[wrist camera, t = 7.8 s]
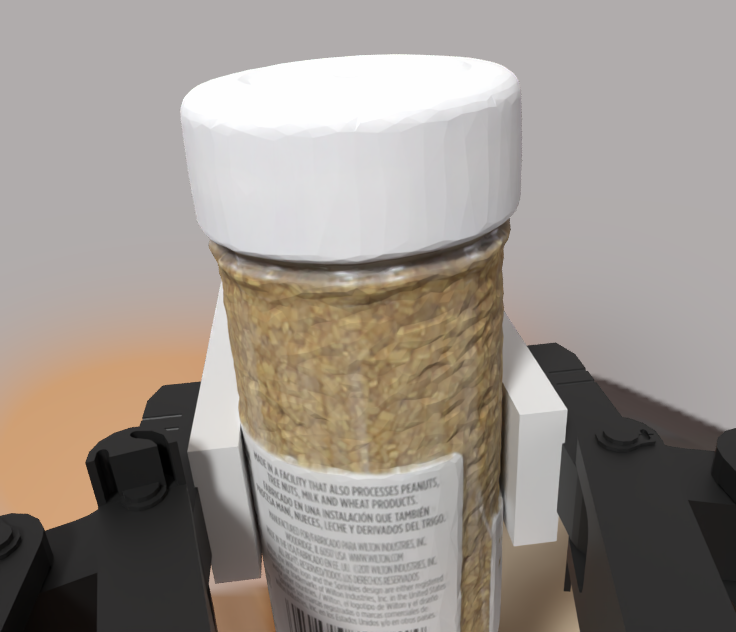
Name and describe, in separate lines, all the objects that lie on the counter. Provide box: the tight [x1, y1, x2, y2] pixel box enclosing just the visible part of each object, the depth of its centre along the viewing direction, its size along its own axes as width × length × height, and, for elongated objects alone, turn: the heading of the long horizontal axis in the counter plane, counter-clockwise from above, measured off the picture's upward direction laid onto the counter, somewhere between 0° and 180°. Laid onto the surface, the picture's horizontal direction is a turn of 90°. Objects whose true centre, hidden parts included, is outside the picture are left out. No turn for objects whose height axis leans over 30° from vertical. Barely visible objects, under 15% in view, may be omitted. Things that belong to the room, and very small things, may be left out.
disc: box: [498, 517, 580, 632], centre depth 31 cm, size 13×13×3 cm
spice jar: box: [180, 54, 522, 632], centre depth 12 cm, size 5×5×14 cm
